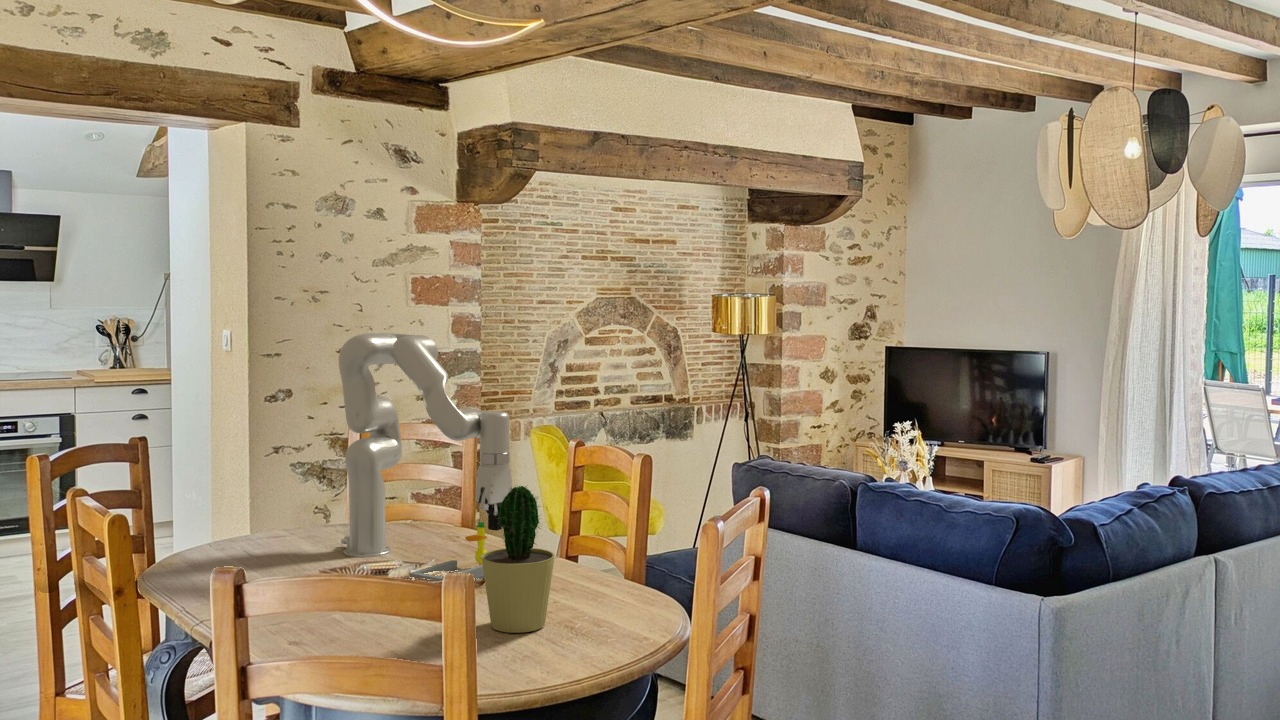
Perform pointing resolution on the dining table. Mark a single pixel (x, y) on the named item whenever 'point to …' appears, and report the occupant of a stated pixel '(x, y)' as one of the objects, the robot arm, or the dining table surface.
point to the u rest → (447, 566)
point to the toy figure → (479, 541)
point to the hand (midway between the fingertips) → (494, 529)
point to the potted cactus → (518, 568)
